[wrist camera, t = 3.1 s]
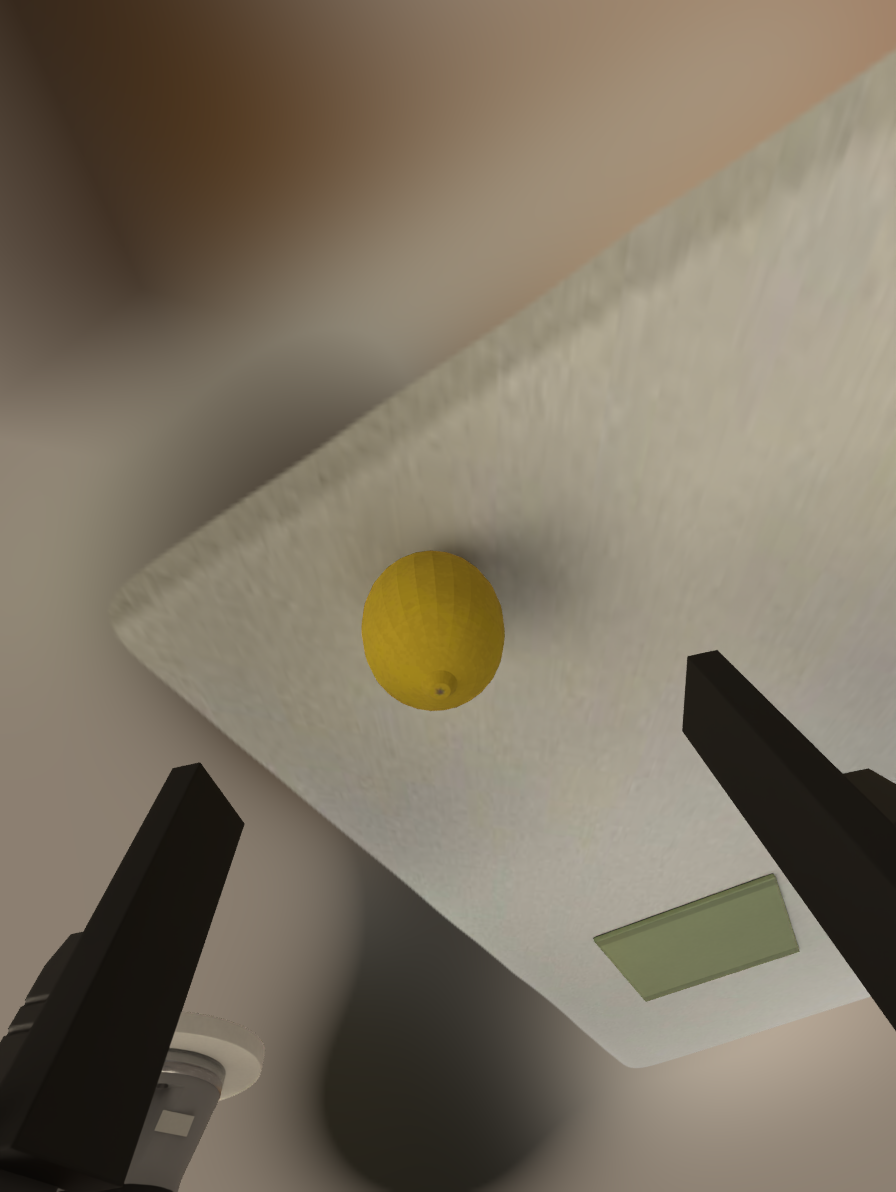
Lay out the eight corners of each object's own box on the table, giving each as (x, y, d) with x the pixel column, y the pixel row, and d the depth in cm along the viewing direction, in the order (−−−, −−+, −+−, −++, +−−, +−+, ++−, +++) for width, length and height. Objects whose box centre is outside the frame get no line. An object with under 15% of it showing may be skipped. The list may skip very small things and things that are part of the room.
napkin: (644, 998, 47) (645, 1002, 47) (593, 937, 40) (594, 941, 40) (797, 948, 45) (800, 951, 44) (773, 873, 37) (775, 877, 37)
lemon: (508, 561, 21) (560, 666, 14) (444, 645, 23) (462, 773, 16) (407, 500, 19) (410, 587, 12) (347, 597, 21) (320, 719, 14)
